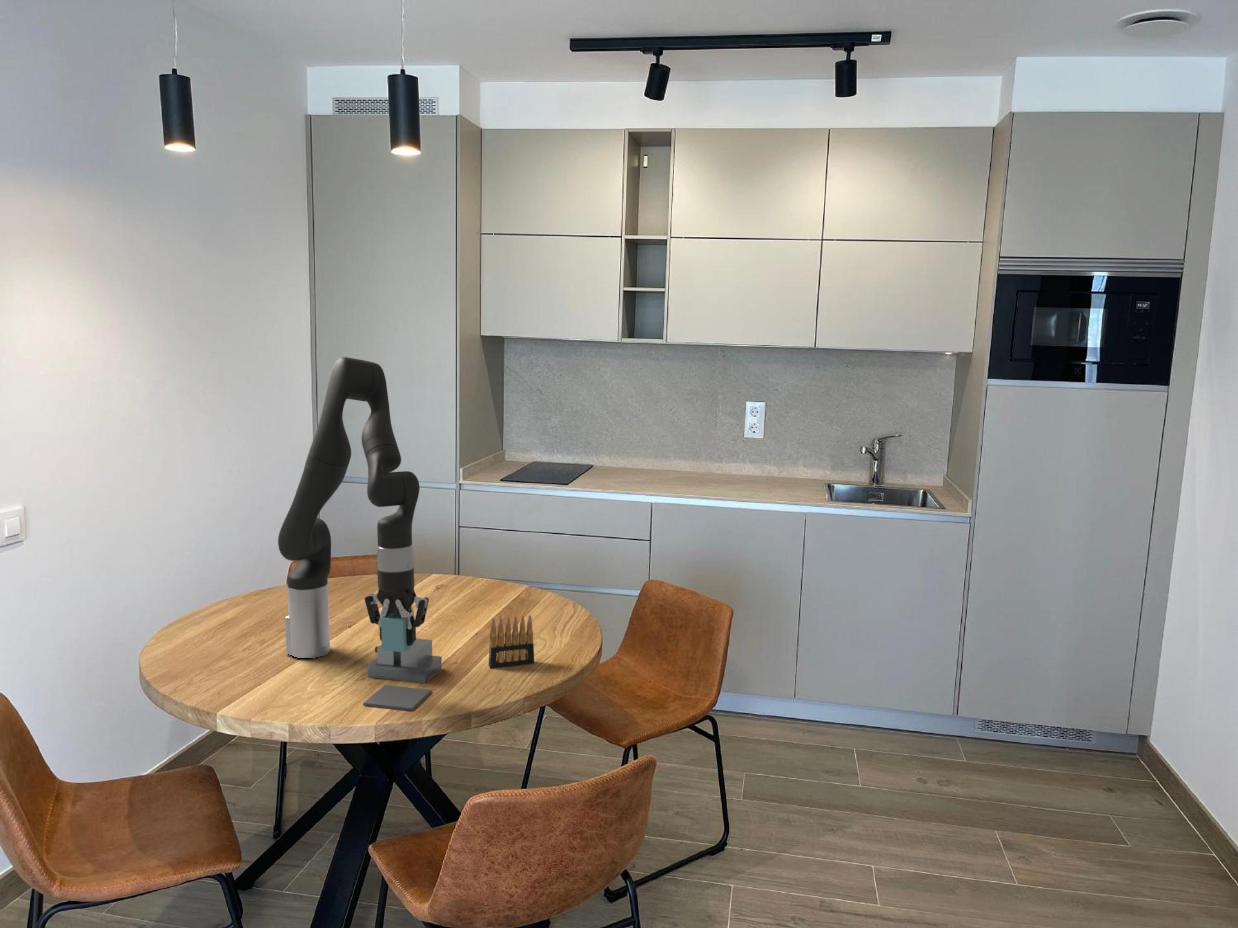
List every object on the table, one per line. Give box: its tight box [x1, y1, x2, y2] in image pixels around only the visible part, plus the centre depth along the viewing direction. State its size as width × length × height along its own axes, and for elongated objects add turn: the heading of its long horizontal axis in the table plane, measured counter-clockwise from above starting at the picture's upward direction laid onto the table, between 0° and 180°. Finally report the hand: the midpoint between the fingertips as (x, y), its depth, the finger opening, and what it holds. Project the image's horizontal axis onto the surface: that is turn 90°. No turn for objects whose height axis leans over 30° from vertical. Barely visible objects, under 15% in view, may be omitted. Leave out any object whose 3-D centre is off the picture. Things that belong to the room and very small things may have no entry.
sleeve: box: [381, 613, 414, 652], centre depth 189 cm, size 5×5×7 cm
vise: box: [367, 637, 443, 684], centre depth 205 cm, size 14×9×14 cm, turn 78°
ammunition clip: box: [488, 614, 535, 669], centre depth 211 cm, size 11×2×12 cm, turn 110°
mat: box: [362, 684, 432, 712], centre depth 191 cm, size 11×10×1 cm
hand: (397, 643), depth 190 cm, fingers closed on sleeve, 5 cm apart
